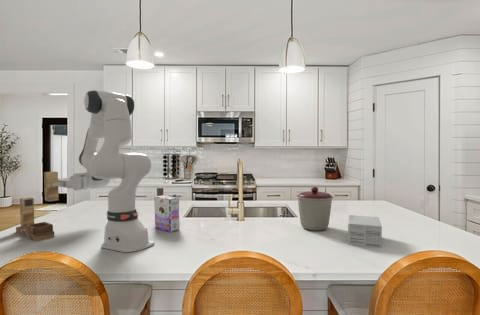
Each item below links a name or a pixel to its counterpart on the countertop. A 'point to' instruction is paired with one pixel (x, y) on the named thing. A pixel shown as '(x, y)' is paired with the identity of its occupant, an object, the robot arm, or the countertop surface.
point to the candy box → (167, 213)
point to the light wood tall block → (51, 191)
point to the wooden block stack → (32, 222)
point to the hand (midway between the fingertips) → (49, 184)
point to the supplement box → (364, 231)
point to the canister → (314, 209)
